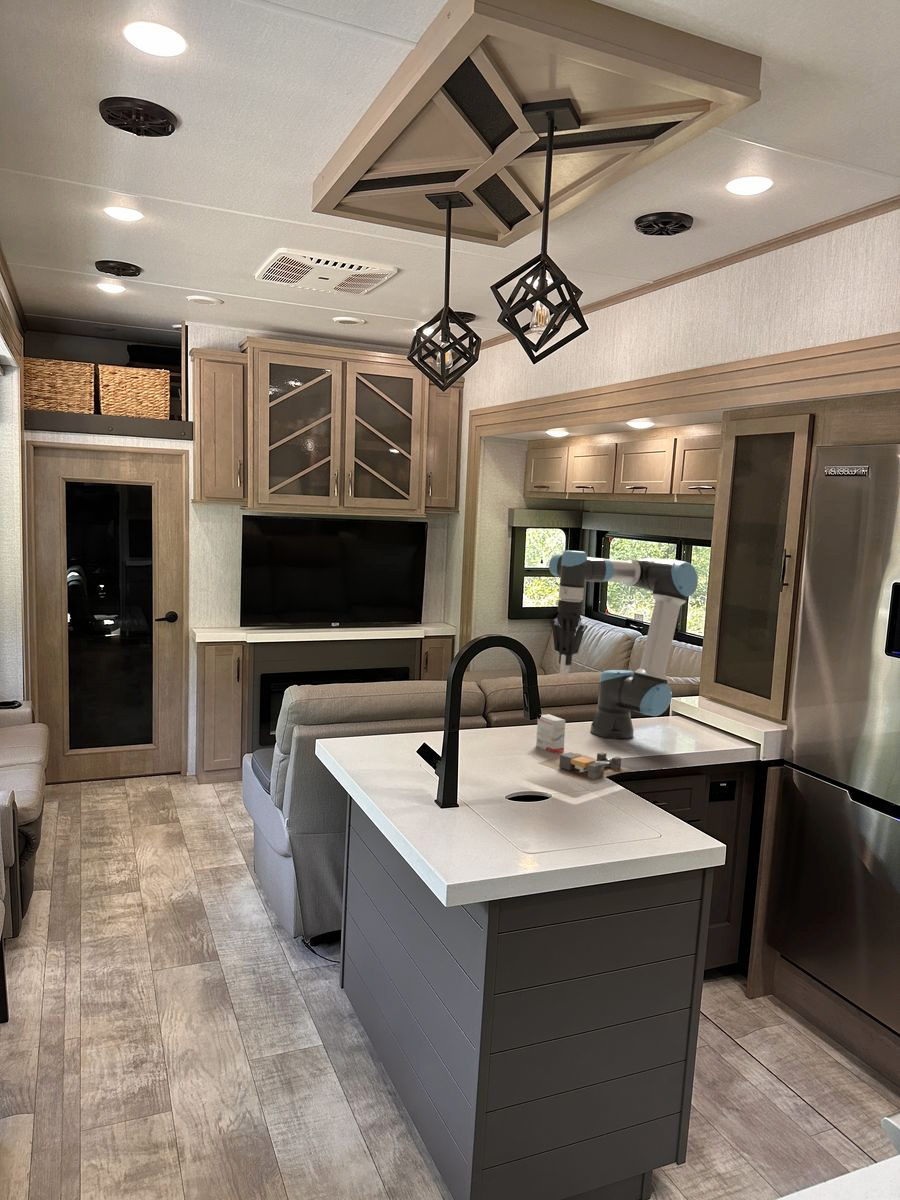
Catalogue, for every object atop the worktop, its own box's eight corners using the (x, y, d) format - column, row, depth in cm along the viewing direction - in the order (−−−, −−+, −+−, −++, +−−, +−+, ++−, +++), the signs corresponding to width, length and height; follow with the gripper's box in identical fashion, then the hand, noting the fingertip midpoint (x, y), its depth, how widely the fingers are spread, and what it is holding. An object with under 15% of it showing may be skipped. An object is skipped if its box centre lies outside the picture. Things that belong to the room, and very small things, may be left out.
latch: (569, 764, 249) (570, 752, 249) (594, 772, 243) (595, 759, 242) (559, 767, 246) (560, 754, 245) (583, 775, 239) (584, 762, 239)
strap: (605, 763, 253) (606, 757, 253) (614, 766, 251) (614, 760, 251) (574, 768, 242) (575, 762, 242) (583, 771, 240) (583, 764, 240)
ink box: (564, 756, 265) (567, 719, 263) (551, 757, 262) (555, 721, 261) (546, 748, 272) (549, 713, 271) (534, 750, 269) (537, 714, 268)
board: (576, 757, 264) (578, 741, 263) (630, 774, 250) (631, 757, 249) (536, 767, 250) (538, 750, 249) (591, 785, 236) (592, 767, 235)
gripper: (546, 598, 260) (540, 672, 263) (580, 603, 251) (573, 679, 253) (561, 597, 266) (555, 670, 268) (594, 602, 256) (588, 677, 259)
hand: (564, 674), depth 261 cm, fingers closed
